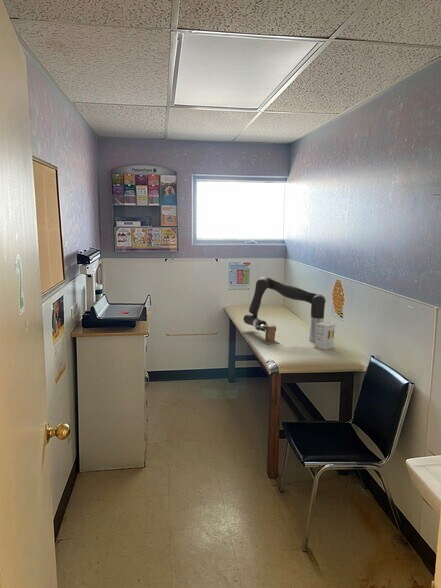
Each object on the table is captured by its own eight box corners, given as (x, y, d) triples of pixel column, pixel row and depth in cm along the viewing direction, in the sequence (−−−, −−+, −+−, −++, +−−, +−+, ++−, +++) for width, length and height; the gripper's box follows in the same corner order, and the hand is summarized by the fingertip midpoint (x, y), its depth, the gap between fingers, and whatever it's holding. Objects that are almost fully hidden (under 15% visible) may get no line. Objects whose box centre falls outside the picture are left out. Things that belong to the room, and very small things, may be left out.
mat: (260, 340, 309) (260, 339, 309) (272, 339, 312) (272, 339, 312) (266, 344, 300) (266, 343, 300) (279, 343, 303) (279, 342, 303)
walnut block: (265, 340, 307) (265, 325, 306) (271, 340, 309) (272, 325, 307) (268, 342, 303) (269, 327, 301) (274, 342, 305) (275, 326, 303)
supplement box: (326, 350, 292) (328, 325, 289) (314, 347, 299) (316, 323, 296) (333, 347, 299) (335, 323, 296) (321, 344, 305) (323, 321, 303)
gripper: (251, 319, 316) (261, 325, 302) (268, 318, 322) (279, 324, 307) (250, 329, 318) (260, 335, 303) (268, 328, 323) (278, 334, 308)
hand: (270, 329), depth 305 cm, fingers open, 8 cm apart
